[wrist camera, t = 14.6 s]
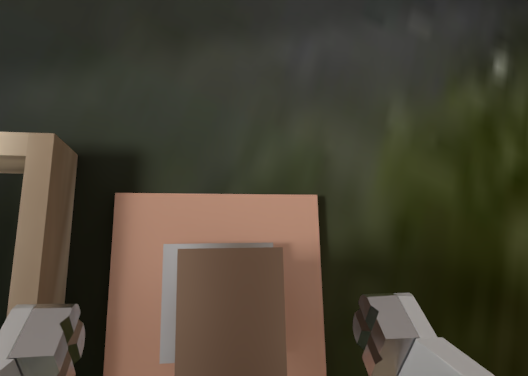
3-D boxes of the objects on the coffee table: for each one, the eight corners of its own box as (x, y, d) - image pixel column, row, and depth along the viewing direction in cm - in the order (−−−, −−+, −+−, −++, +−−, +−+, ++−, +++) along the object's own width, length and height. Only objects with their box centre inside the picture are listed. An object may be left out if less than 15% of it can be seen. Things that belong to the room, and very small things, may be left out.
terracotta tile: (103, 420, 17) (99, 424, 16) (117, 194, 19) (115, 192, 18) (324, 403, 18) (328, 407, 18) (314, 196, 20) (317, 194, 20)
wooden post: (162, 358, 17) (109, 459, 8) (165, 245, 18) (123, 217, 9) (272, 352, 18) (344, 438, 8) (269, 244, 19) (330, 216, 10)
